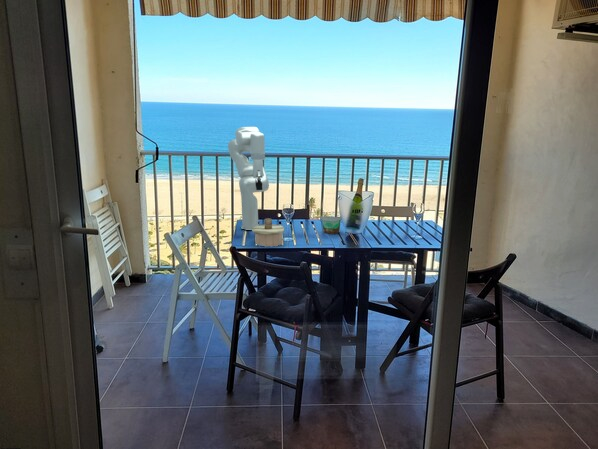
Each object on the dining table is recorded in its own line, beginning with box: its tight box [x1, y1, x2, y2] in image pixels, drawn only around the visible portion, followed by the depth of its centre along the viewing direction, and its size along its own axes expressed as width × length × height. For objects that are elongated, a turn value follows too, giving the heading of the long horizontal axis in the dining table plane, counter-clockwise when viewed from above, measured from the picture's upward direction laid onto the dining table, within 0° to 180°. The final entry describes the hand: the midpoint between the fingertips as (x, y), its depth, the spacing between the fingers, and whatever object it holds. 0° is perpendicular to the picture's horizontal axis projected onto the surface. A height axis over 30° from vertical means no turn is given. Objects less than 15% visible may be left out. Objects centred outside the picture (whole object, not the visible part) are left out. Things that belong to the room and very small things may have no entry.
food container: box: [320, 215, 343, 235], centre depth 254 cm, size 12×6×10 cm, turn 82°
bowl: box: [254, 232, 283, 247], centre depth 237 cm, size 14×14×7 cm
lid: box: [251, 217, 285, 235], centre depth 235 cm, size 17×17×6 cm
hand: (258, 188), depth 239 cm, fingers open, 9 cm apart
